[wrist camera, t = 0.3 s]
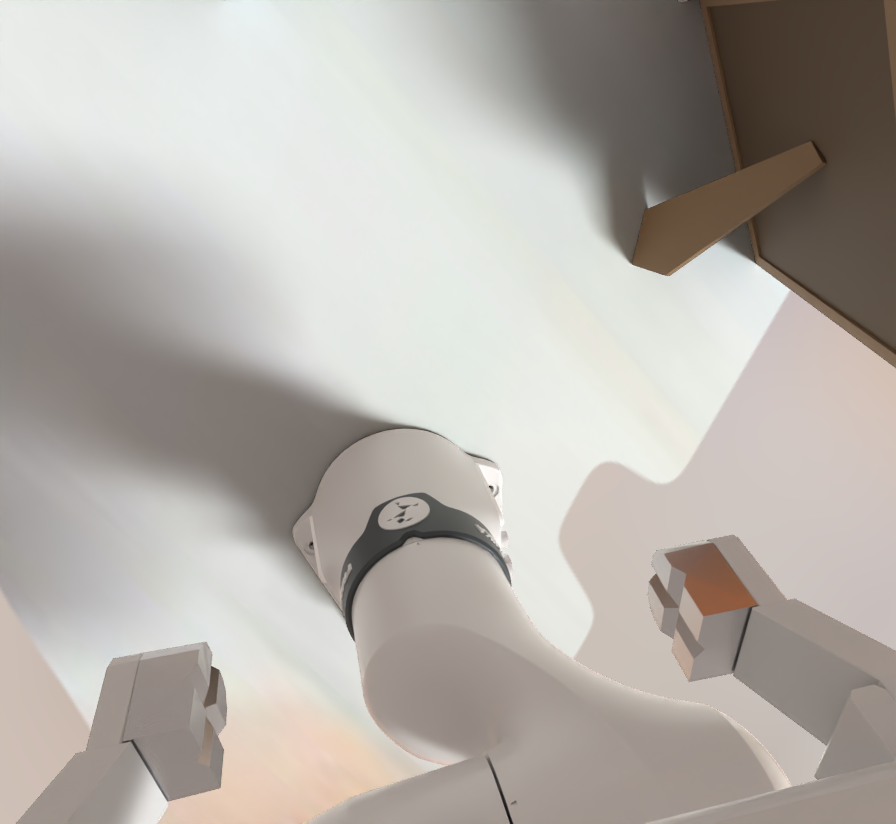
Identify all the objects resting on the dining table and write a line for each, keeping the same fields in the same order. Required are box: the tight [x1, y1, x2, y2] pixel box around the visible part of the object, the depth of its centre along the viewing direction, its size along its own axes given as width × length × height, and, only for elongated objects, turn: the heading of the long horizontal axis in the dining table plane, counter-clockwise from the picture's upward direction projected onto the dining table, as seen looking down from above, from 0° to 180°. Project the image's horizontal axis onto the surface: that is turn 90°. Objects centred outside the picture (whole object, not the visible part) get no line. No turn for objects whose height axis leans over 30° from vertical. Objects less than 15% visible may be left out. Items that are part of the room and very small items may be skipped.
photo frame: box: [632, 0, 896, 368], centre depth 43 cm, size 15×22×25 cm
